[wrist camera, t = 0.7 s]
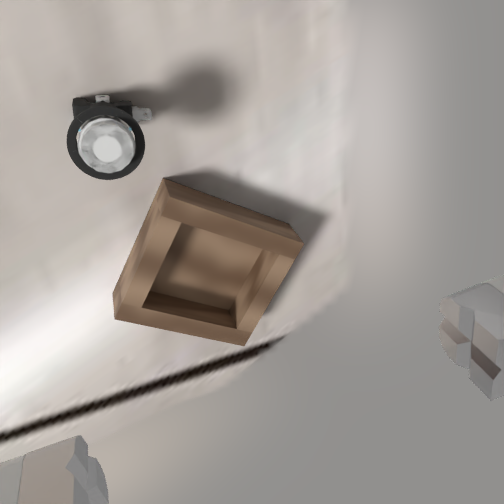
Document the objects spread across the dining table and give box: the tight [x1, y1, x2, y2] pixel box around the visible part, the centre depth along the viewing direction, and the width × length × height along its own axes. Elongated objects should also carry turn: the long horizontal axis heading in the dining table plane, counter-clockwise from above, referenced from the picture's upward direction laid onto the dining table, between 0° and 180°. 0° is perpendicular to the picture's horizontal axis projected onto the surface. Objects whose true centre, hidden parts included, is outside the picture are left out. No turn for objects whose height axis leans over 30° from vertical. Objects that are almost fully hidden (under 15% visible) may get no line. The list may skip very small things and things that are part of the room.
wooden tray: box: [113, 178, 304, 346], centre depth 50 cm, size 14×15×4 cm
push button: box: [67, 95, 152, 180], centre depth 37 cm, size 7×5×10 cm
